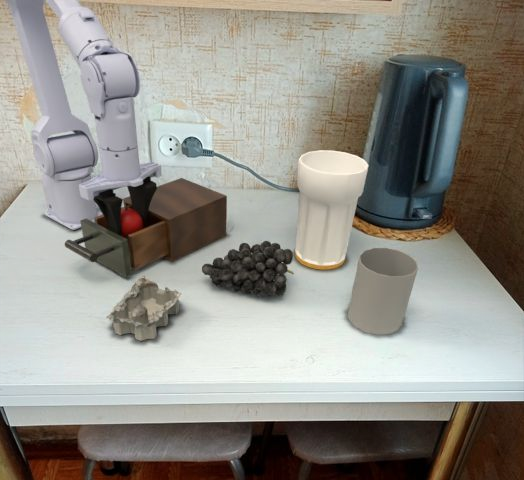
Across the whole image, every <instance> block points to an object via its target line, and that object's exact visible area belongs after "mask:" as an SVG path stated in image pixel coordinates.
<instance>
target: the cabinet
mask: <svg viewBox="0 0 524 480" xmlns="http://www.w3.org/2000/svg"><path fill="white" fill-rule="evenodd" d="M122 199H123V201H122V205H123V207H125V206H127V205H131V206H132V202H131V198H130V195H129V196H127V197H126V196H125V197H123V198H122ZM227 209H228V196H227V195H225V194H224V193H221V192H219V191H216V190H213V189H211V188H208V187H206V186H203V185H201V184H199V183H196V182H193V181H191V180H188V179H186V178H184V177H180V178H177V179H175V180H172V181H169V182H165V183H163V184H161V185H157V190H156V191H155V193H154V195H153V197H152V200H151V202H150V206H149V210H148V213H149V214H151V215H153V216H155V217H157V218H160V219H162V220H164V221H166V222H167V231H168V246H169V254H168V255H166V256H164V257H162V258H161V259H164V260H166V261H169V263H174V262H175V261H178V260H180V259H182V258H185V257H186V256H188V255H190V254H192V253H193V252H196V251H199V250H200V249H202V248H205V247H206V246H208V245H210V244H212V243H215V242H217V241H219V240H220V239H223V238H225V237H227V225H228V224H227V219H228V218H227V216H228V215H227V213H228V211H227Z"/></svg>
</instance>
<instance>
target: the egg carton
mask: <svg viewBox="0 0 524 480" xmlns="http://www.w3.org/2000/svg"><path fill="white" fill-rule="evenodd" d="M181 295H182V292H179V291H178V290H176V289H174V290H172V289H170V288H169V287H168V286H165V287H164V289H161V288H159V285H158V283H156V282H155V281H153V280H150V279H148V278H146V276H145V275H143V276H141V278H140V277H139V278H138V279H137V280H136V281H135V282H134V283H133V285H131V289H130V291H128V292H126V293H125V295H124V296H123V298H122V299H121V300H120V301H119V302H117V303H116V304H115V306H114V307H113V309H112V311H110V314H108V315H107V316H105V318H107V319H109V321H111V322H112V328H113V329H114V333H115V334H117V335H119V336H122V335H124V334H133V335H134V337H135V338H134V339H135V340H136V341H140V342H141V341H145V340H154V339H155V338H156V337H157V335H158V333H157V328H158V327H166V326H167V325H168V324H169V315H177V314H178V313H179V312H180V303H179V301H180V300H179V298H180V297H181Z"/></svg>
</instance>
